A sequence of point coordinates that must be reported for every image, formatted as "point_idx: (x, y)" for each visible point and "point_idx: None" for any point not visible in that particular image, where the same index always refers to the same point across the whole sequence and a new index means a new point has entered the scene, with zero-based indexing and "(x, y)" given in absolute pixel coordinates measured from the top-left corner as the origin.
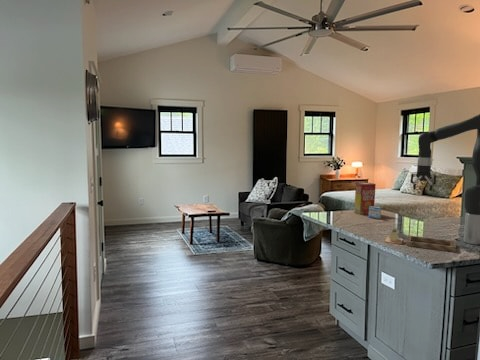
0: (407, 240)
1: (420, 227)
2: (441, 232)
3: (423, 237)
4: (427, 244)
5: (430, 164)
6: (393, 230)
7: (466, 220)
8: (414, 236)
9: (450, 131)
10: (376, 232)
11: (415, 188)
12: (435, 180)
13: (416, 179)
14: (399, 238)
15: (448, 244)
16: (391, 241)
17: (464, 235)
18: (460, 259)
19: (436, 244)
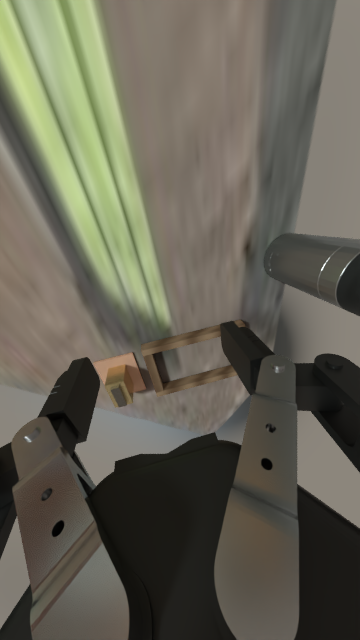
0: (156, 391)
1: (103, 89)
2: (202, 156)
3: (178, 343)
4: (196, 384)
5: None
6: (121, 406)
7: (312, 290)
8: (158, 349)
9: None
10: (38, 332)
11: (95, 396)
12: None
13: (14, 496)
14: (124, 356)
15: None
16: None
17: (275, 272)
18: (246, 397)
19: (212, 378)
